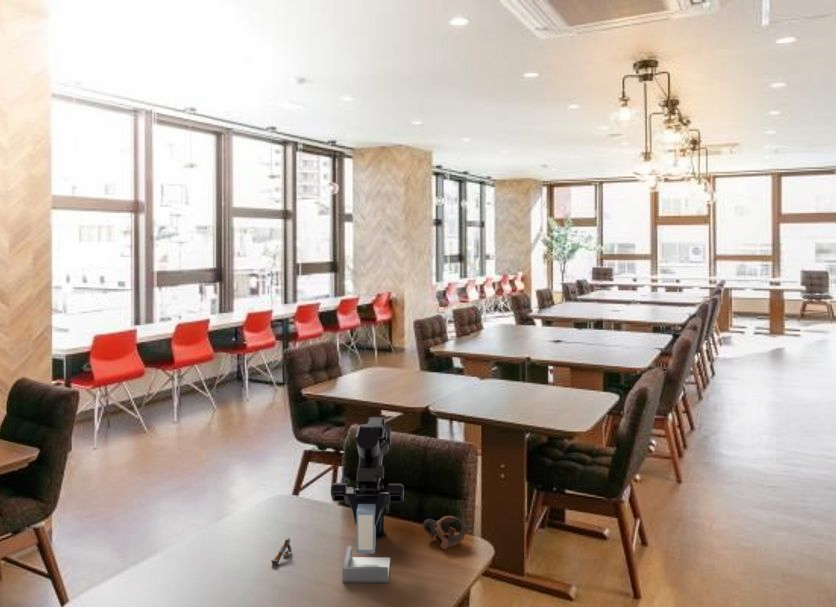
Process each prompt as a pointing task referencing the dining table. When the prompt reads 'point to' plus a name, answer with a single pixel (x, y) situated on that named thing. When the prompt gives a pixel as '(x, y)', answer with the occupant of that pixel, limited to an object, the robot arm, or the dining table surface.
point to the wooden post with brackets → (282, 550)
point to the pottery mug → (445, 530)
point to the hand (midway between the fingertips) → (365, 524)
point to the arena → (365, 569)
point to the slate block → (366, 528)
